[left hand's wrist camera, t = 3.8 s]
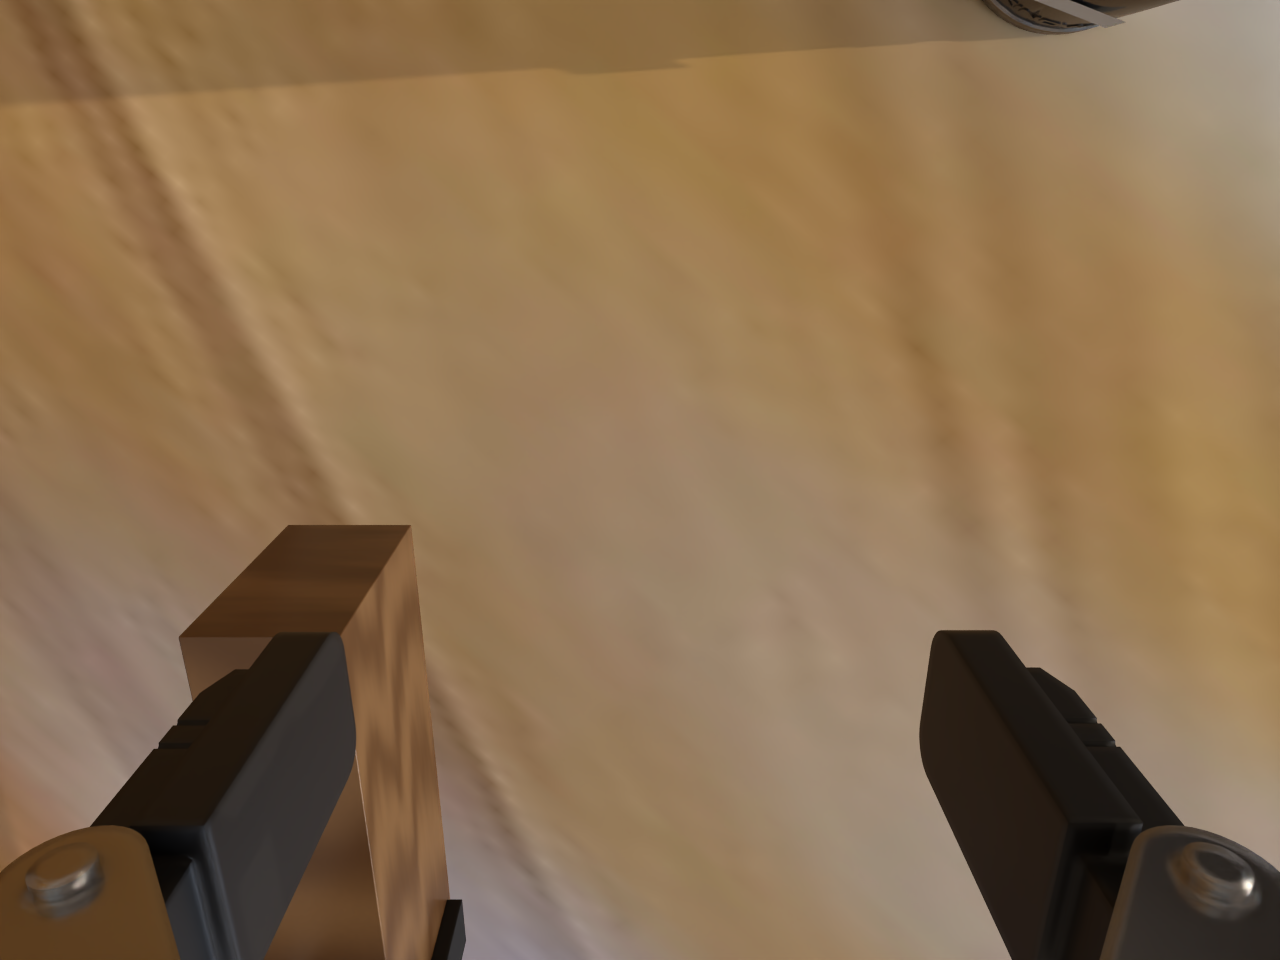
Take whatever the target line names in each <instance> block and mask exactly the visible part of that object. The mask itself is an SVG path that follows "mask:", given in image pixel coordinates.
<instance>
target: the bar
mask: <svg viewBox="0 0 1280 960" xmlns="http://www.w3.org/2000/svg"><path fill="white" fill-rule="evenodd" d="M279 632H337V633H338V634H339V635H340V636H341V638H342V641H343V644H344V649H345V656H346V662H347V669H348V676H349V683H350V690H351V697H352V704H353V711H354V717H355V724H356V751H355V757H354V763H353V767H352V770H351V773H350V776H349V778H348V780H347V783H346V785H345V787H344V789H343V791H342V793H341V795H340V797H339V800H338V802H337V804H336V806H335V808H334V810H333V812H332V814H331V817H330V819H329V821H328V823H327V825H326V827H325V829H324V832H323V834H322V836H321V838H320V840H319V842H318V844H317V846H316V849H315V851H314V853H313V855H312V857H311V859H310V861H309V864H308V866H307V868H306V870H305V872H304V874H303V876H302V878H301V881H300V883H299V885H298V887H297V889H296V891H295V893H294V895H293V898H292V900H291V902H290V904H289V906H288V908H287V910H286V913H285V915H284V917H283V919H282V921H281V923H280V925H279V927H278V930H277V932H276V934H275V936H274V938H273V940H272V942H271V945H270V947H269V949H268V951H267V953H266V955H265V957H264V959H263V960H431V958H432V954H433V950H434V947H435V943H436V939H437V935H438V932H439V928H440V924H441V920H442V917H443V913H444V909H445V905H446V901H447V900H450V895H449V885H448V876H447V866H446V856H445V847H444V837H443V827H442V818H441V808H440V799H439V789H438V779H437V770H436V760H435V751H434V741H433V731H432V722H431V712H430V703H429V693H428V683H427V674H426V664H425V655H424V645H423V635H422V626H421V616H420V607H419V597H418V587H417V578H416V568H415V558H414V549H413V539H412V530H411V525H288V526H287V527H286V528H285V529H284V530H283V531H282V532H281V533H280V534H279V535H278V536H277V537H276V538H275V539H274V540H273V541H272V542H271V543H270V544H269V545H268V546H267V547H266V548H265V549H264V550H263V551H262V552H261V553H260V554H259V556H258V557H257V558H256V559H255V560H254V561H253V562H252V563H251V564H250V565H249V566H248V567H247V568H246V569H245V570H244V571H243V572H242V573H241V574H240V575H239V576H238V577H237V578H236V579H235V580H234V581H233V582H232V583H231V584H230V585H229V586H228V587H227V588H226V589H225V590H224V591H223V592H222V593H221V594H220V595H219V596H218V597H217V598H216V599H215V600H214V601H213V602H212V603H211V605H210V606H209V607H208V608H207V609H206V610H205V611H204V612H203V613H202V614H201V615H200V616H199V617H198V618H197V619H196V620H195V621H194V622H193V623H192V624H191V625H190V626H189V627H188V628H187V629H186V630H185V631H184V632H183V633H182V634H181V635H180V636H179V641H180V645H181V650H182V655H183V659H184V664H185V668H186V673H187V677H188V682H189V686H190V691H191V695H192V700H193V701H194V699H195V698H196V697H197V696H198V695H199V693H200V692H202V691H203V690H205V689H206V688H208V687H209V686H211V685H212V684H214V683H215V682H217V681H218V680H220V679H221V678H223V677H224V676H226V675H227V674H229V673H230V672H232V671H233V670H235V669H249V668H250V667H251V666H252V664H253V663H254V662H255V660H256V659H257V658H258V656H259V655H260V654H261V652H262V651H263V650H264V649H265V647H266V646H267V645H268V643H269V642H270V641H271V639H272V638H273V637H274V636H275V635H276V634H277V633H279Z"/></svg>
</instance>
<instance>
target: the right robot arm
mask: <svg viewBox="0 0 1280 960" xmlns="http://www.w3.org/2000/svg"><path fill="white" fill-rule="evenodd" d="M465 942H466V936H465V926H464V916H463V905H462V900H447V901H446V905H445V909H444V913H443V917H442V920H441V924H440V928H439V932H438V935H437V939H436V943H435V947H434V950H433V954H432V958H431V960H462V955H463V951H464V947H465Z"/></svg>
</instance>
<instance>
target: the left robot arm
mask: <svg viewBox="0 0 1280 960" xmlns="http://www.w3.org/2000/svg"><path fill="white" fill-rule="evenodd" d="M982 1H983V2H984V3H985V4H986V5H987V6H988V8H989V9H991V10H992V11H993V12H994V13H995V14H996V15H997V16H999V17H1000V18H1002V19H1003V20H1005V21H1006V22H1008V23H1010V24H1012V25H1014V26H1016V27H1018V28H1021V29H1023V30H1026V31H1030V32H1034V33H1040V34H1053V35H1059V34H1069V33H1074V32H1079V31H1083V30H1087V29H1090V28H1093V27H1097V26H1102V27H1104V28H1107V27H1110V26H1114V25H1117V24H1121V23H1125V22H1124V21H1122V20H1119V19H1116V18H1118V17H1122V16H1125V15H1130V14H1134V13H1137V12H1141V11H1144V10H1148V9H1151V8H1155V7H1158V6H1162V5H1165V4H1168V3H1172V2H1175V1H1179V0H982ZM919 739H920V751H921V757H922V762H923V766H924V769H925V772H926V775H927V777H928V779H929V782H930V784H931V786H932V788H933V790H934V792H935V795H936V797H937V799H938V801H939V803H940V805H941V807H942V810H943V812H944V814H945V816H946V818H947V820H948V823H949V825H950V827H951V829H952V831H953V833H954V836H955V838H956V840H957V842H958V844H959V846H960V848H961V851H962V853H963V855H964V857H965V859H966V861H967V864H968V866H969V868H970V870H971V872H972V874H973V877H974V879H975V881H976V883H977V885H978V887H979V889H980V892H981V894H982V896H983V898H984V900H985V902H986V905H987V907H988V909H989V911H990V913H991V915H992V918H993V920H994V922H995V924H996V926H997V928H998V930H999V933H1000V935H1001V937H1002V939H1003V941H1004V943H1005V946H1006V948H1007V950H1008V952H1009V954H1010V956H1011V959H1012V960H1280V872H1279V871H1278V870H1277V869H1275V868H1274V867H1273V866H1272V865H1271V864H1269V863H1268V862H1267V861H1266V860H1264V859H1263V858H1262V857H1260V856H1259V855H1257V854H1255V853H1254V852H1252V851H1251V850H1249V849H1247V848H1246V847H1244V846H1242V845H1240V844H1238V843H1236V842H1234V841H1232V840H1230V839H1227V838H1225V837H1223V836H1220V835H1217V834H1214V833H1211V832H1208V831H1205V830H1201V829H1197V828H1193V827H1186V826H1184V825H1183V824H1182V822H1181V821H1180V820H1179V819H1178V817H1177V816H1176V815H1175V814H1174V812H1173V811H1172V810H1171V809H1170V808H1169V806H1168V805H1167V804H1166V803H1165V801H1164V800H1163V799H1162V798H1161V796H1160V795H1159V794H1158V793H1157V792H1156V790H1155V789H1154V788H1153V787H1152V785H1151V784H1150V783H1149V782H1148V781H1147V779H1146V778H1145V777H1144V776H1143V774H1142V773H1141V772H1140V771H1139V769H1138V768H1137V767H1136V766H1135V765H1134V763H1133V762H1132V761H1131V760H1130V758H1129V757H1128V756H1127V755H1126V753H1125V752H1124V751H1123V750H1122V749H1121V747H1116V745H1115V740H1114V739H1113V738H1112V736H1111V735H1110V734H1109V733H1108V731H1107V730H1106V729H1105V728H1104V726H1103V725H1102V724H1098V723H1097V718H1096V717H1095V715H1094V714H1093V713H1092V712H1091V710H1090V709H1089V708H1088V707H1087V706H1086V704H1085V703H1084V702H1083V701H1082V699H1081V698H1080V697H1079V696H1078V694H1077V693H1076V692H1075V691H1074V690H1072V689H1071V688H1070V687H1068V686H1067V685H1065V684H1064V683H1062V682H1061V681H1059V680H1058V679H1056V678H1055V677H1053V676H1052V675H1050V674H1049V673H1047V672H1046V671H1044V670H1043V669H1041V668H1026V667H1025V666H1024V664H1023V663H1022V662H1021V660H1020V659H1019V658H1018V656H1017V655H1016V654H1015V652H1014V651H1013V650H1012V648H1011V647H1010V646H1009V644H1008V643H1007V642H1006V640H1005V639H1004V638H1003V636H1002V635H1001V634H1000V633H999V632H997V631H994V630H941V631H938V632H937V633H936V634H935V636H934V638H933V641H932V645H931V651H930V658H929V665H928V672H927V679H926V686H925V693H924V700H923V707H922V714H921V721H920V732H919ZM355 751H356V724H355V717H354V711H353V704H352V697H351V690H350V683H349V676H348V669H347V662H346V656H345V649H344V644H343V641H342V638H341V636H340V635H339V634H338V633H337V632H279V633H277V634H276V635H275V636H274V637H273V638H272V639H271V641H270V642H269V643H268V645H267V646H266V647H265V649H264V650H263V651H262V652H261V654H260V655H259V656H258V658H257V659H256V660H255V662H254V663H253V664H252V666H251V667H250V668H249V669H235V670H233V671H232V672H230V673H229V674H227V675H226V676H224V677H223V678H221V679H220V680H218V681H217V682H215V683H214V684H212V685H211V686H209V687H208V688H206V689H205V690H203V691H202V692H200V693H199V695H198V696H197V697H196V698H195V699H194V701H193V702H192V703H191V704H190V705H189V707H188V708H187V709H186V710H185V712H184V713H183V714H182V715H181V716H180V718H179V719H178V723H177V726H172V727H171V729H170V730H169V731H168V732H167V733H166V735H165V736H164V737H163V738H162V740H161V741H160V742H159V747H158V749H153V751H152V752H151V753H150V754H149V755H148V757H147V758H146V759H145V760H144V762H143V763H142V764H141V765H140V766H139V768H138V769H137V770H136V771H135V772H134V774H133V775H132V776H131V777H130V779H129V780H128V781H127V782H126V783H125V785H124V786H123V787H122V788H121V790H120V791H119V792H118V793H117V794H116V796H115V797H114V798H113V799H112V800H111V802H110V803H109V804H108V805H107V807H106V808H105V809H104V810H103V811H102V813H101V814H100V815H99V816H98V818H97V819H96V820H95V821H94V822H93V824H92V825H91V826H90V827H87V828H83V829H79V830H75V831H72V832H69V833H66V834H63V835H60V836H57V837H55V838H53V839H50V840H48V841H46V842H44V843H42V844H40V845H38V846H36V847H34V848H33V849H31V850H29V851H28V852H26V853H25V854H23V855H21V856H20V857H18V858H17V859H16V860H14V861H13V862H12V863H11V864H9V865H8V866H7V867H6V868H5V869H3V870H2V871H1V872H0V960H263V959H264V957H265V955H266V953H267V951H268V949H269V947H270V945H271V942H272V940H273V938H274V936H275V934H276V932H277V930H278V927H279V925H280V923H281V921H282V919H283V917H284V915H285V913H286V910H287V908H288V906H289V904H290V902H291V900H292V898H293V895H294V893H295V891H296V889H297V887H298V885H299V883H300V881H301V878H302V876H303V874H304V872H305V870H306V868H307V866H308V864H309V861H310V859H311V857H312V855H313V853H314V851H315V849H316V846H317V844H318V842H319V840H320V838H321V836H322V834H323V832H324V829H325V827H326V825H327V823H328V821H329V819H330V817H331V814H332V812H333V810H334V808H335V806H336V804H337V802H338V800H339V797H340V795H341V793H342V791H343V789H344V787H345V785H346V783H347V780H348V778H349V776H350V773H351V770H352V767H353V763H354V757H355Z"/></svg>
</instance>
